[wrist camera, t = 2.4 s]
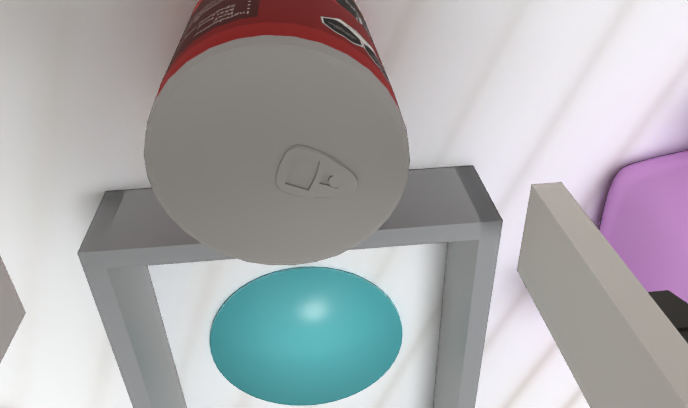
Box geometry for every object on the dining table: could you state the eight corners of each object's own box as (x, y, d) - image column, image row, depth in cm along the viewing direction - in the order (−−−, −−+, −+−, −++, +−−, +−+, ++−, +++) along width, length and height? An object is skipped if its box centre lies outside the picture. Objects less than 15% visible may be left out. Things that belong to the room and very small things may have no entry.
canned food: (359, 125, 29) (395, 269, 20) (194, 119, 28) (153, 267, 19) (377, -38, 25) (433, 51, 16) (184, -52, 24) (125, 33, 15)
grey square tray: (105, 191, 30) (77, 252, 26) (473, 165, 31) (502, 220, 27) (188, 465, 43) (179, 534, 39) (443, 440, 44) (459, 505, 40)
